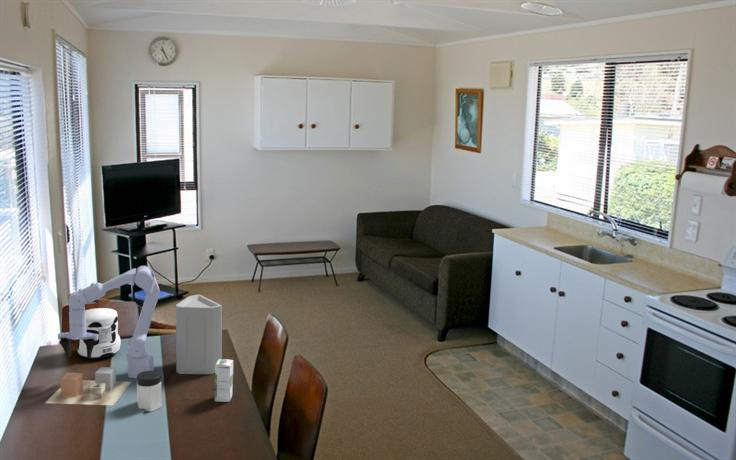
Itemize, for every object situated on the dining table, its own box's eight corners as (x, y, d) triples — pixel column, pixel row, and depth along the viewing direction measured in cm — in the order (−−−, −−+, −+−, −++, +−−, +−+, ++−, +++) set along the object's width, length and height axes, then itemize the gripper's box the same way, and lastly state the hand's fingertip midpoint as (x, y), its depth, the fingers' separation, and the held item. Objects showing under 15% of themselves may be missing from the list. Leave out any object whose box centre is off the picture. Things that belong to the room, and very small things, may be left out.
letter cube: (105, 393, 242) (105, 383, 241) (101, 398, 238) (101, 387, 237) (94, 393, 242) (94, 382, 241) (90, 398, 238) (89, 387, 237)
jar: (163, 409, 234) (162, 378, 232) (139, 413, 230) (138, 381, 228) (159, 399, 242) (158, 368, 239) (135, 402, 238) (135, 371, 236)
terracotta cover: (83, 389, 244) (82, 373, 243) (76, 396, 239) (76, 379, 238) (67, 389, 244) (67, 372, 243) (61, 395, 239) (60, 378, 237)
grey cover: (116, 383, 251) (115, 367, 249) (110, 390, 245) (110, 373, 244) (101, 383, 250) (100, 367, 249) (95, 389, 245) (95, 373, 244)
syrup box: (217, 395, 247) (217, 358, 245) (233, 395, 248) (233, 359, 245) (214, 401, 242) (214, 364, 239) (230, 402, 242) (230, 365, 239)
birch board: (131, 384, 253) (131, 381, 253) (113, 407, 234) (113, 405, 233) (68, 382, 252) (68, 379, 252) (44, 405, 233) (44, 403, 232)
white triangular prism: (166, 365, 272) (166, 300, 267) (199, 357, 282) (199, 294, 277) (188, 380, 259) (188, 312, 253) (222, 371, 269) (222, 305, 263)
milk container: (91, 344, 290) (89, 305, 287) (128, 348, 288) (127, 309, 285) (68, 359, 273) (66, 318, 270) (107, 363, 271) (106, 321, 268)
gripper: (53, 326, 245) (55, 360, 247) (93, 327, 245) (94, 361, 248) (61, 319, 252) (63, 353, 254) (100, 321, 252) (101, 354, 255)
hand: (79, 357), depth 252 cm, fingers open, 7 cm apart
